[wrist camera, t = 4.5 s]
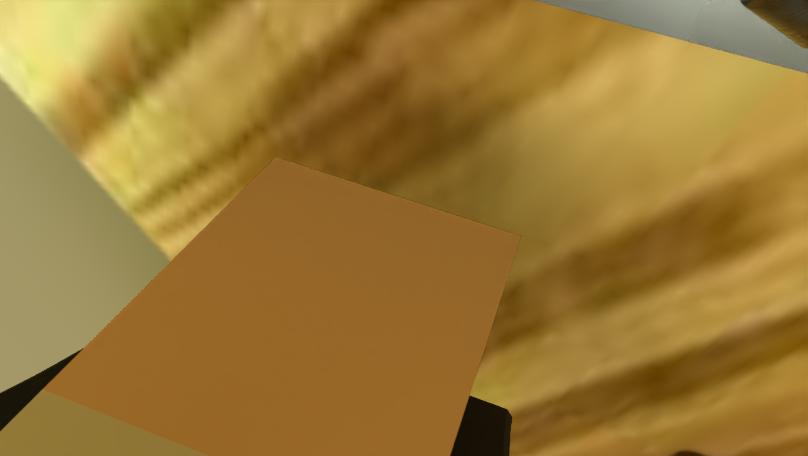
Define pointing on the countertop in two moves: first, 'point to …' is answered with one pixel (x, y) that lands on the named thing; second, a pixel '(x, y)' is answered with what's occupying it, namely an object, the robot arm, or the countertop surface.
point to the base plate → (701, 26)
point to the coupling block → (288, 334)
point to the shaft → (784, 17)
